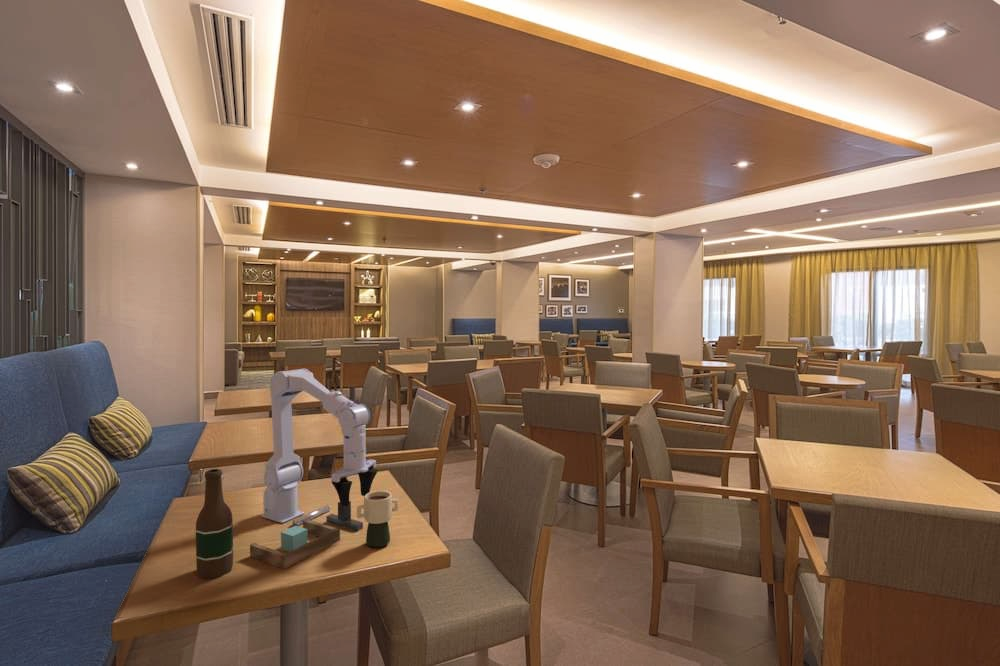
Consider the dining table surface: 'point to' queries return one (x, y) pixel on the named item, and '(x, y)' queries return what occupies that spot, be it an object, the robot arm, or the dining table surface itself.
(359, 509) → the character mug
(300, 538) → the teal block
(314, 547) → the wooden u-shaped frame
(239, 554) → the dining table surface
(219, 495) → the beer bottle
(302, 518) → the steel rod
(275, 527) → the dining table surface
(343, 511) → the dark grey bar
